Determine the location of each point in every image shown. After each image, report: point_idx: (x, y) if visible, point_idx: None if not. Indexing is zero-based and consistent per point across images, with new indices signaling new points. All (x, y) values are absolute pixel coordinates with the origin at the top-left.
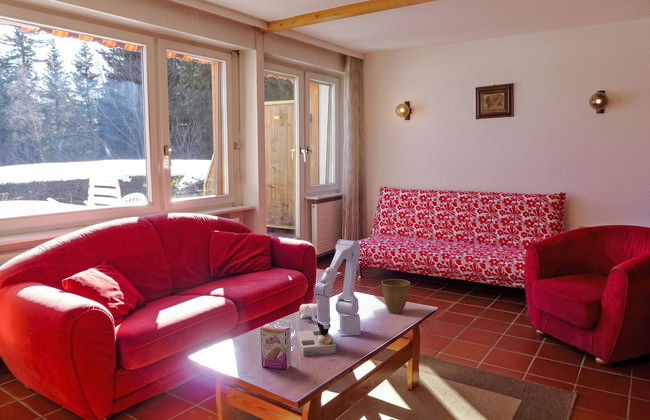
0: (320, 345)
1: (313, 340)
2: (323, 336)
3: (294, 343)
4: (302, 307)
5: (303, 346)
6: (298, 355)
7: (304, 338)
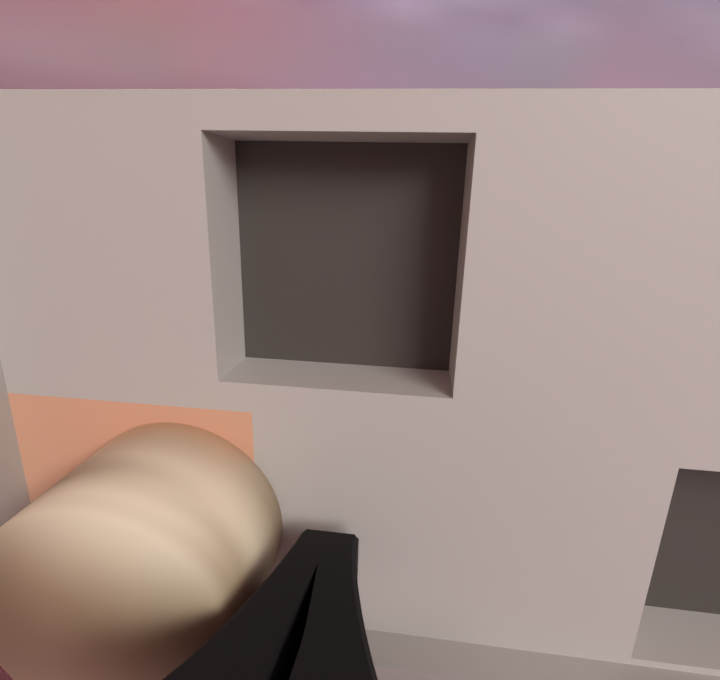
0: (109, 443)
1: (450, 391)
2: (115, 614)
3: (616, 5)
4: None
5: (147, 132)
6: (17, 17)
7: (594, 233)
